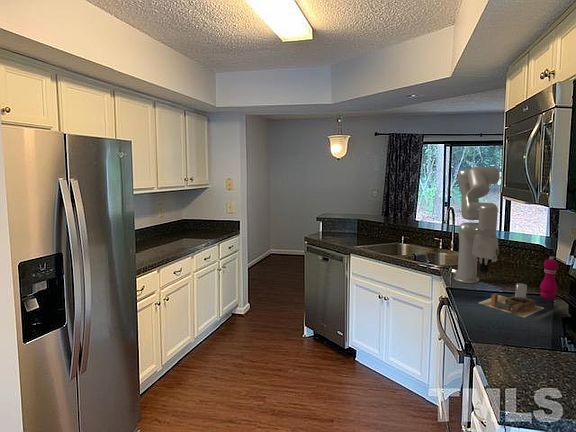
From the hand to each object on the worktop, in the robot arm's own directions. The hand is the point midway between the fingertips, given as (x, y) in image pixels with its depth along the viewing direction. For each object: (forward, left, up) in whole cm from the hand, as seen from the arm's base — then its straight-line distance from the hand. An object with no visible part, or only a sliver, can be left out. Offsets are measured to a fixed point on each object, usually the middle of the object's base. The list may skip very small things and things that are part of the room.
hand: (484, 272), depth 198 cm
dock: (+10, +7, -16) cm, 20 cm away
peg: (+13, +9, -14) cm, 21 cm away
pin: (+9, 0, -14) cm, 17 cm away
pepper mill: (+13, +36, -16) cm, 41 cm away
